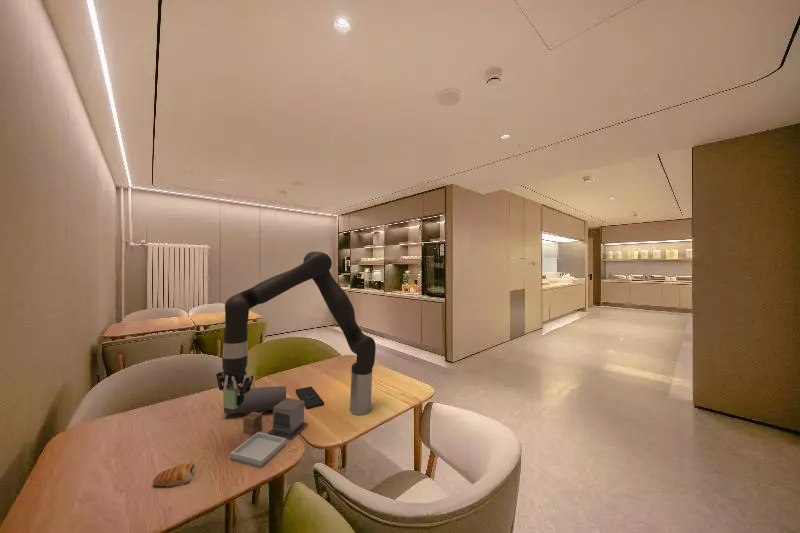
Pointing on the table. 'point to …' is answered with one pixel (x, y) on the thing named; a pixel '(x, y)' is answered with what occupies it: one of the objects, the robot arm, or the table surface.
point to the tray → (258, 449)
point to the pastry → (175, 475)
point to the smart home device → (309, 397)
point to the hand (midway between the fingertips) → (233, 403)
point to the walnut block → (252, 423)
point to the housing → (288, 418)
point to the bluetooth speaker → (260, 400)
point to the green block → (230, 398)
